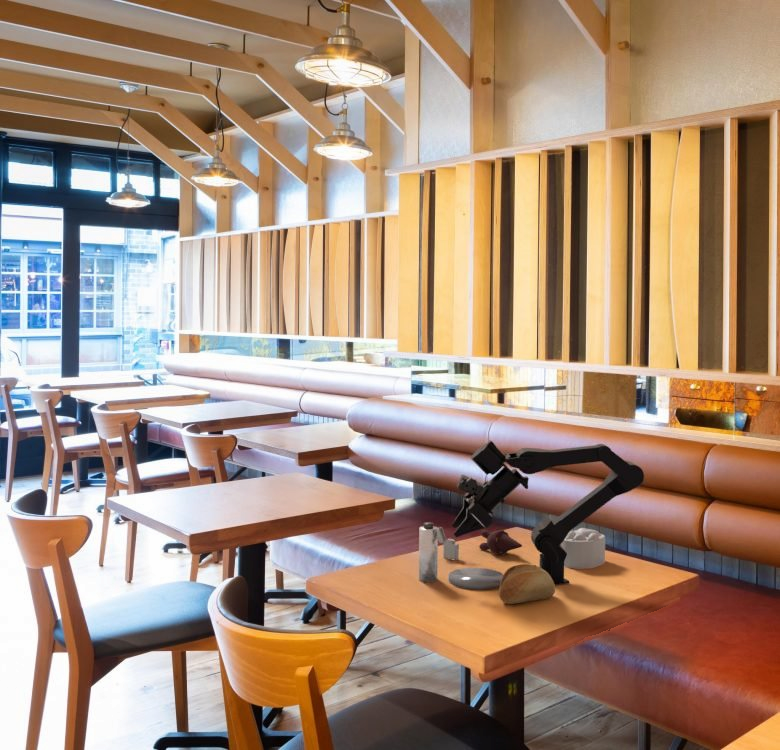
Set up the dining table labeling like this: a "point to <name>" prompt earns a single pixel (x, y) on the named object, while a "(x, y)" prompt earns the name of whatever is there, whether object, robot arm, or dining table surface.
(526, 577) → the bread roll
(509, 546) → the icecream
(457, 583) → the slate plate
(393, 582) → the dining table surface
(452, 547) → the lighter
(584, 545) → the lumpy-topped squat cylinder
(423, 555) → the pepper mill
